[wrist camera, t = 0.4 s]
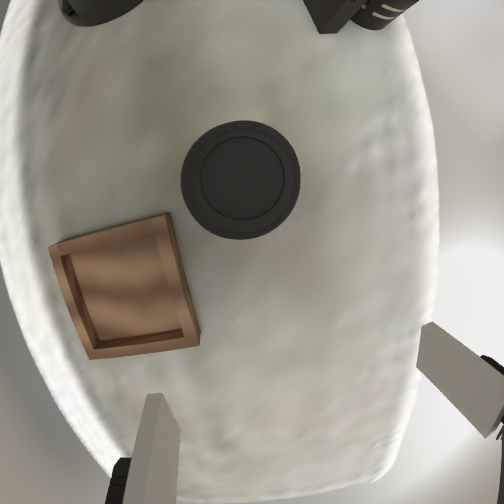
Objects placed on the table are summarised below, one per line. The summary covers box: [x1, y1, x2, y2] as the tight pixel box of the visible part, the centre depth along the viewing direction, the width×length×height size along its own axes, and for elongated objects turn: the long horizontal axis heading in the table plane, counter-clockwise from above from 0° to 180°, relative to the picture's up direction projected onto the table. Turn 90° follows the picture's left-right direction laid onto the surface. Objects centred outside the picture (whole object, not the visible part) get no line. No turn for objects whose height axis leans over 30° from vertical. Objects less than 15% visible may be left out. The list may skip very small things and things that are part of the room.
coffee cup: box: [181, 121, 300, 240], centre depth 26 cm, size 9×9×15 cm
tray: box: [48, 213, 201, 360], centre depth 33 cm, size 16×16×4 cm
